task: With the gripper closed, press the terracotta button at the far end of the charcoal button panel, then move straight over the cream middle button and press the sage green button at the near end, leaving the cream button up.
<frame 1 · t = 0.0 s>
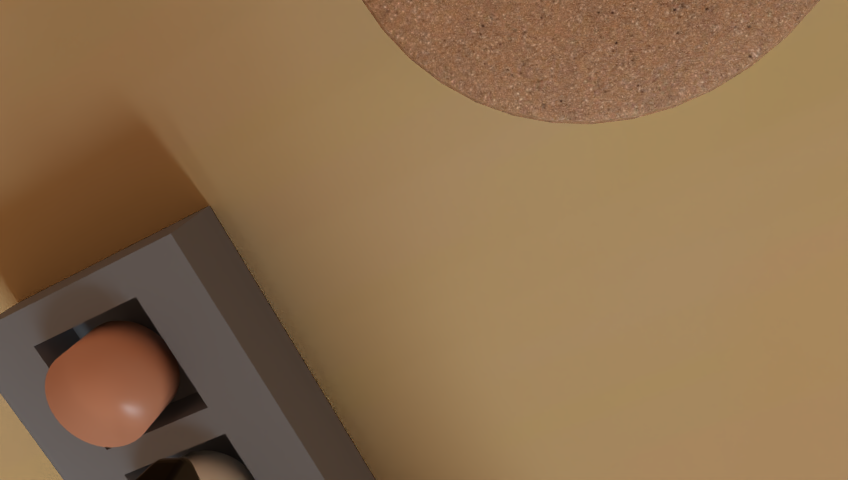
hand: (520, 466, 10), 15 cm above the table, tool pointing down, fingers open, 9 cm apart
terracotta button: (114, 383, 25), point 3 cm above the table, slide at 0.0 cm
button panel: (237, 453, 29), on the table
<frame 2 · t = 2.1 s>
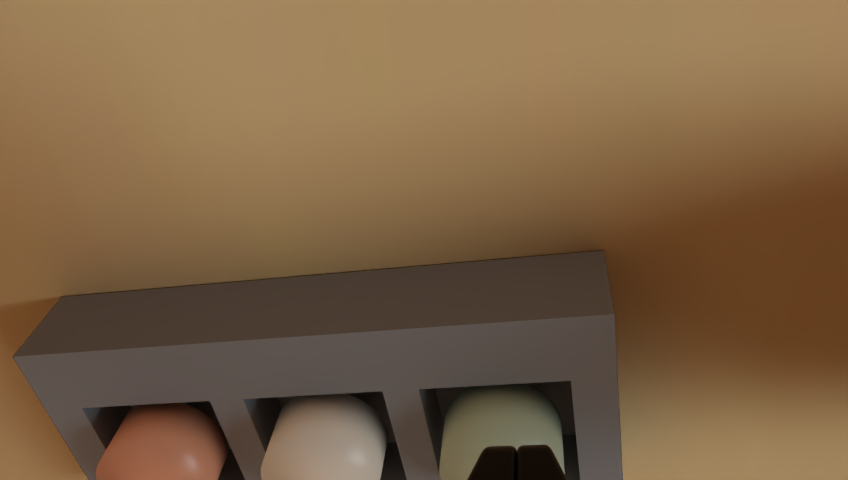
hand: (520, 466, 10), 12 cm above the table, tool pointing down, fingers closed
terracotta button: (164, 461, 24), point 3 cm above the table, slide at 0.0 cm
sage button: (501, 448, 23), point 3 cm above the table, slide at 0.0 cm
button panel: (346, 378, 26), on the table
cream button: (326, 455, 23), point 3 cm above the table, slide at 0.0 cm
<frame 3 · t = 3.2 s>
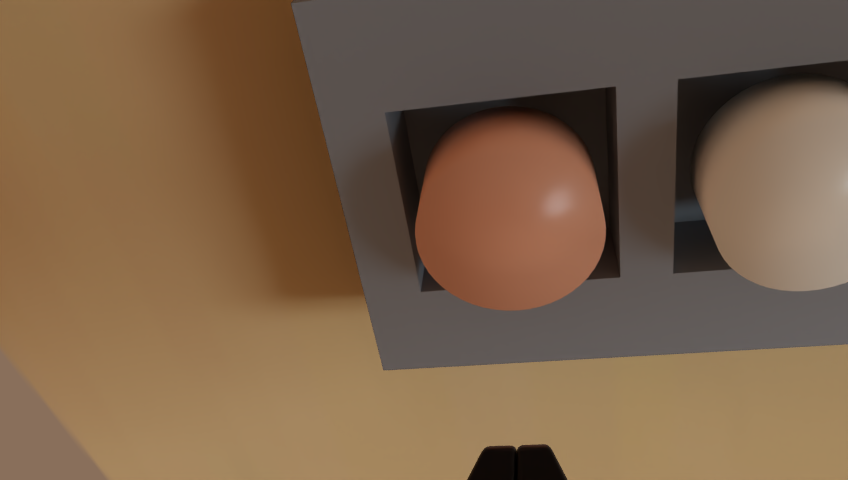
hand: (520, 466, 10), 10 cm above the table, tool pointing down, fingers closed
terracotta button: (508, 209, 15), point 3 cm above the table, slide at 0.0 cm
button panel: (751, 110, 17), on the table
cream button: (799, 183, 14), point 3 cm above the table, slide at 0.0 cm
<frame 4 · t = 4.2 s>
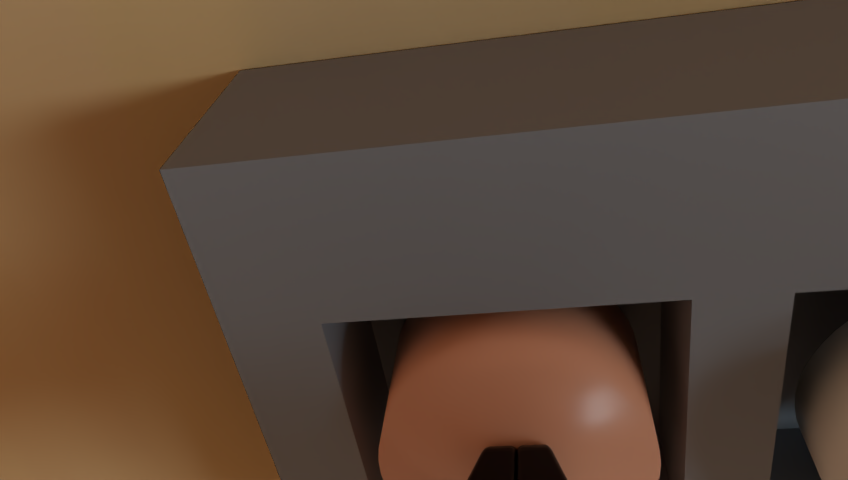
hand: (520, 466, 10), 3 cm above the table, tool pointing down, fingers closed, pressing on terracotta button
terracotta button: (515, 411, 11), point 2 cm above the table, slide at 0.9 cm, touching gripper
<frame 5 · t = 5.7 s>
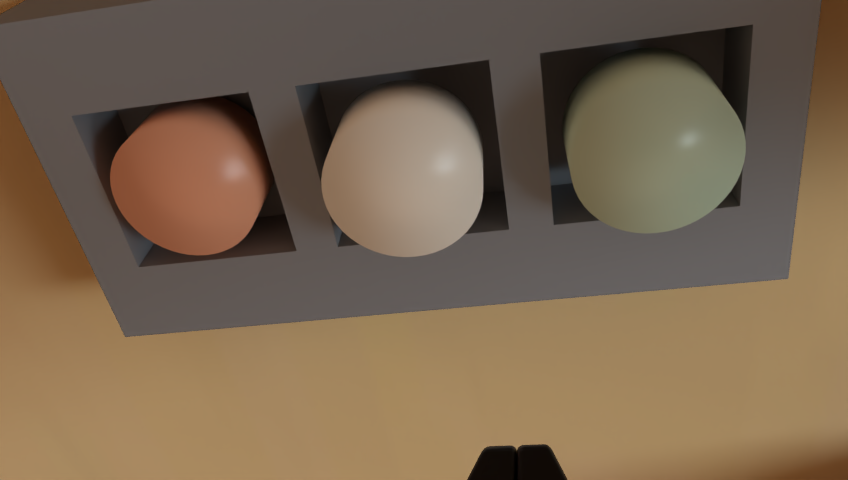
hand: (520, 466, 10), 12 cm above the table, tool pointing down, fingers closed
terracotta button: (197, 174, 19), point 2 cm above the table, slide at 1.0 cm
sage button: (648, 141, 17), point 3 cm above the table, slide at 0.0 cm
button panel: (416, 110, 20), on the table
cream button: (405, 169, 18), point 3 cm above the table, slide at 0.0 cm
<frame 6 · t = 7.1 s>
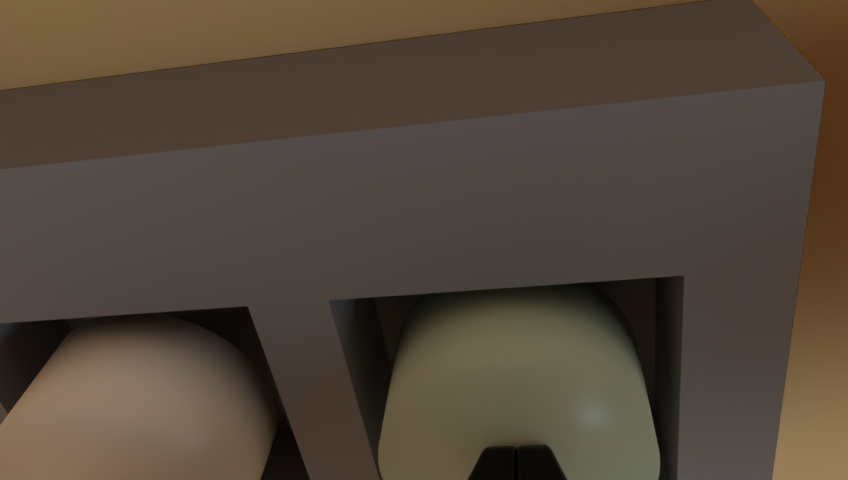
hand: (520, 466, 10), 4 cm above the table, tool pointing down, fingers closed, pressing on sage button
sage button: (515, 411, 11), point 3 cm above the table, slide at 0.5 cm, touching gripper
button panel: (215, 306, 14), on the table
cream button: (140, 450, 11), point 3 cm above the table, slide at 0.0 cm
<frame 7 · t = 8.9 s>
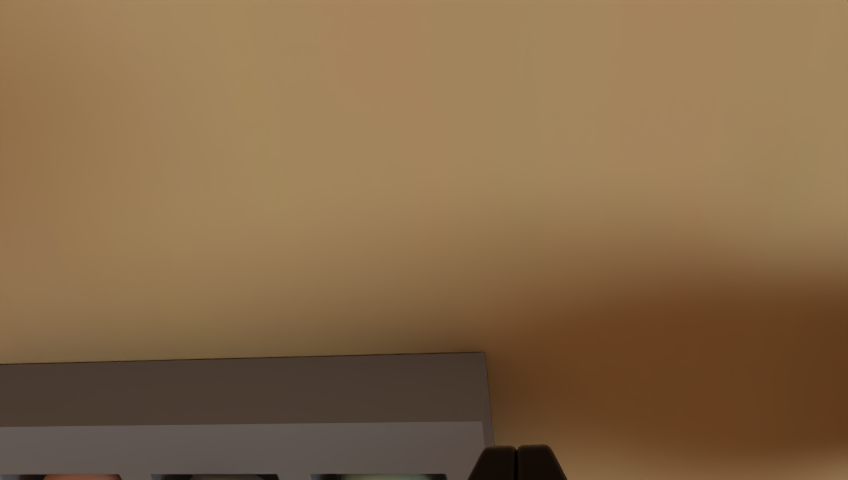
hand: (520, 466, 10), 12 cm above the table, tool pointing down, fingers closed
button panel: (254, 448, 28), on the table
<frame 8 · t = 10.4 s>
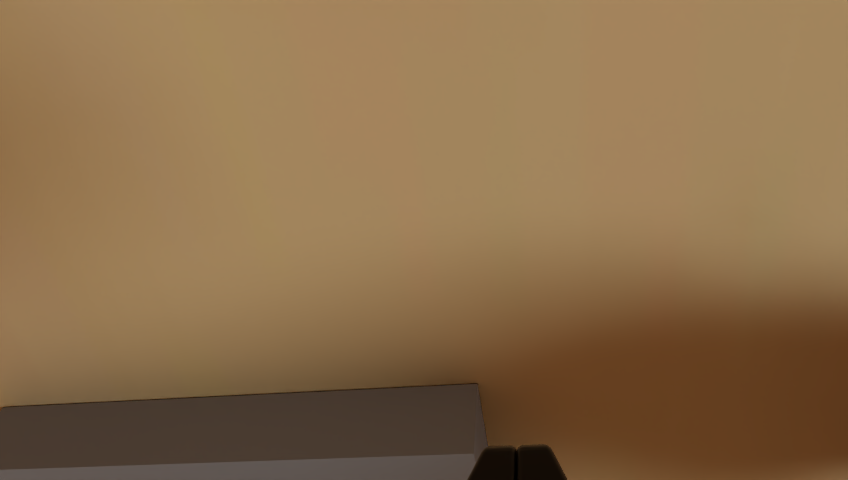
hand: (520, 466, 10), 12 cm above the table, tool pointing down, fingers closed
button panel: (261, 479, 29), on the table
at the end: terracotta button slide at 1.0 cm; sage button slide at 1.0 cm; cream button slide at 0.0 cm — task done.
